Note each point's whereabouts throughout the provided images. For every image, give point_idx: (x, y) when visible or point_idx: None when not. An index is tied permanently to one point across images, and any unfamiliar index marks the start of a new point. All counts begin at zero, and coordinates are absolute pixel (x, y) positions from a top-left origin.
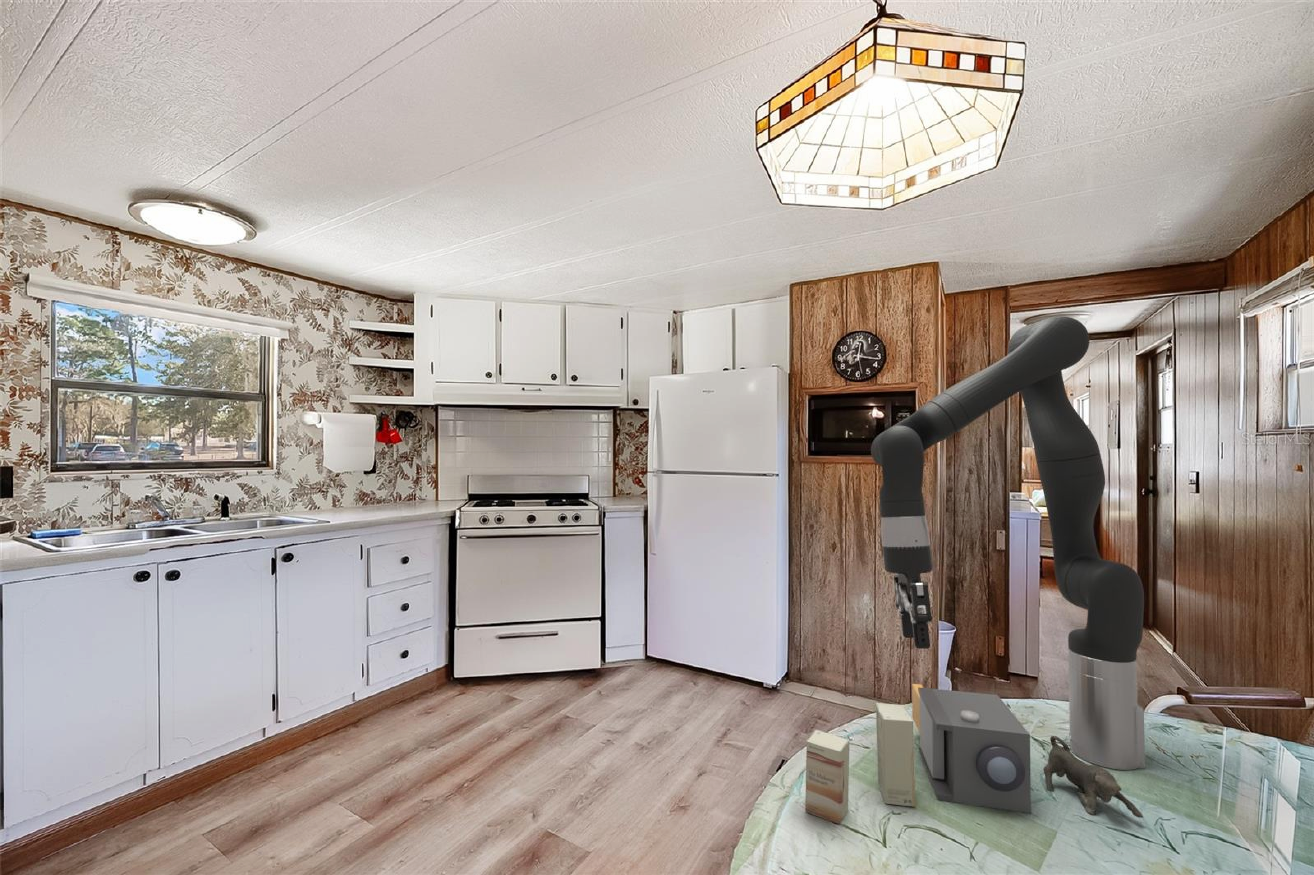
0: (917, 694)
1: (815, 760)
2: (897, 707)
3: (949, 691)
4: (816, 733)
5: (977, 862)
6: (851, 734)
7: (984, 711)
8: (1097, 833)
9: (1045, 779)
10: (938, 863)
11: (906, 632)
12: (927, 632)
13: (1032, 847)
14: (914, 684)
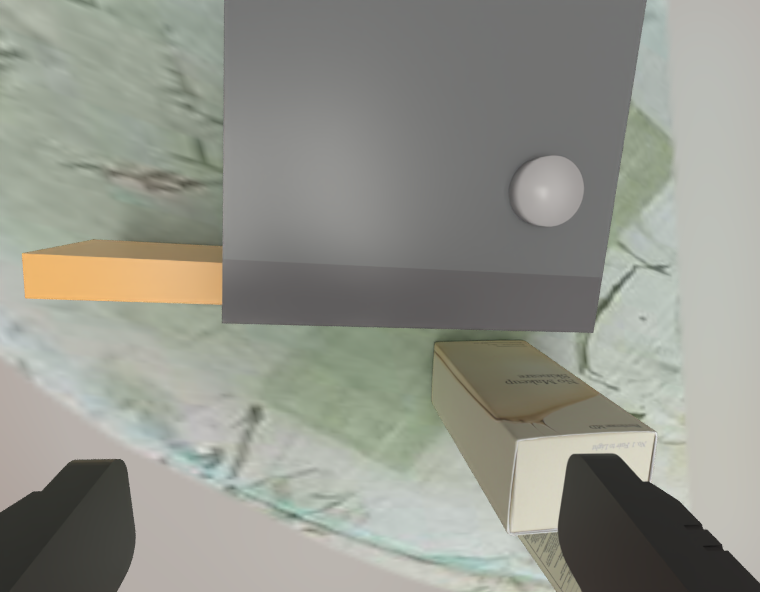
0: (171, 302)
1: None
2: (543, 466)
3: (240, 181)
4: None
5: (673, 263)
6: (182, 447)
7: (453, 93)
8: None
9: None
10: (679, 333)
11: (110, 570)
12: (698, 557)
13: (626, 133)
14: (33, 289)
